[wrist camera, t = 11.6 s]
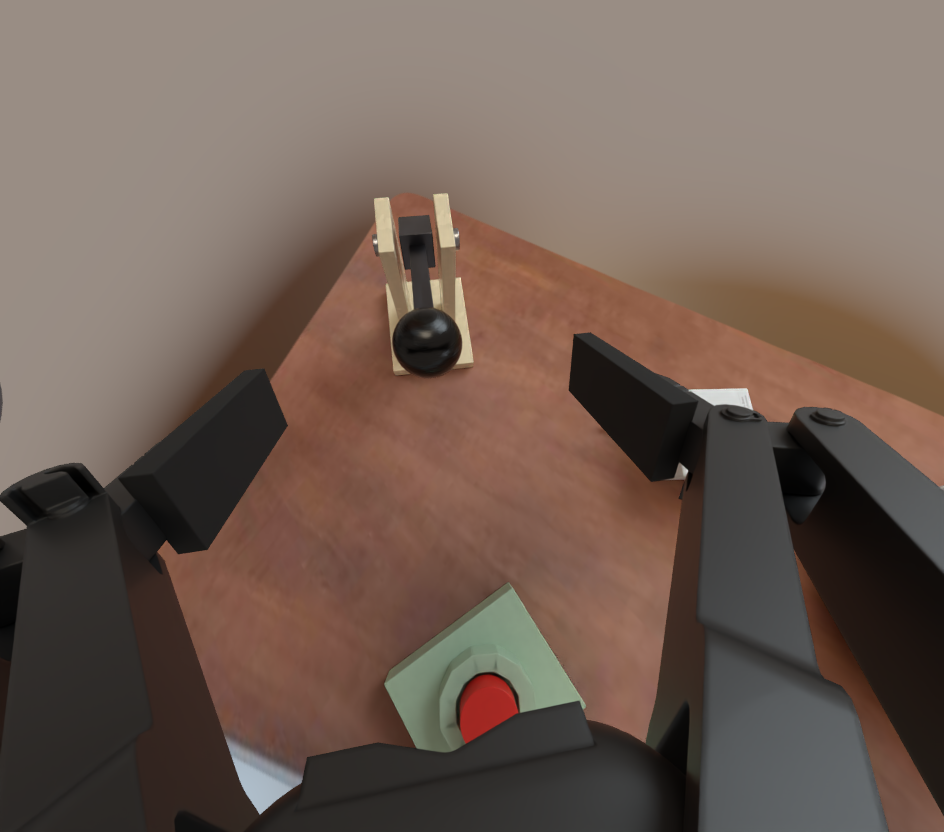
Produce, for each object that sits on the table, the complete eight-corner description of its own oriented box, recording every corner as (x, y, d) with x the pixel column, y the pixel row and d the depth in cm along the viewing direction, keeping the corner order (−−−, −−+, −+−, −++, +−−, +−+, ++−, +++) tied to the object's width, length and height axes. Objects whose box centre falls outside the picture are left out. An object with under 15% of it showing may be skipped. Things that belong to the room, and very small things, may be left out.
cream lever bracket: (472, 367, 34) (484, 281, 21) (395, 375, 34) (356, 292, 20) (460, 284, 37) (463, 160, 24) (387, 290, 36) (348, 167, 23)
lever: (467, 388, 18) (466, 334, 15) (399, 396, 17) (385, 342, 15) (442, 255, 26) (438, 204, 23) (396, 259, 26) (386, 208, 23)
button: (479, 753, 23) (481, 773, 22) (448, 698, 24) (448, 712, 22) (525, 714, 24) (531, 730, 22) (494, 661, 25) (497, 673, 23)
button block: (454, 796, 25) (453, 848, 22) (388, 670, 27) (378, 697, 23) (576, 691, 28) (596, 721, 24) (508, 581, 29) (516, 593, 26)
